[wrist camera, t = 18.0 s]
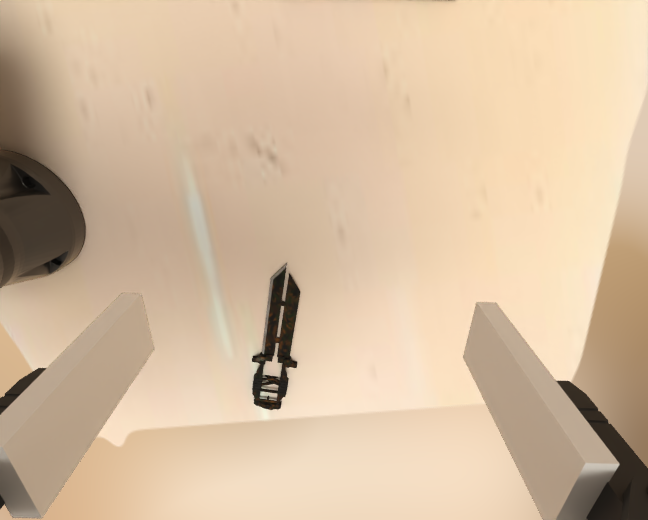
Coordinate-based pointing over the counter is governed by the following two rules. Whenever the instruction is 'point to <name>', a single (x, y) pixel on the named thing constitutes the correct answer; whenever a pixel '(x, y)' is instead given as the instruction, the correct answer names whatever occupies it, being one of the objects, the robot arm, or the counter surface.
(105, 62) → the counter surface
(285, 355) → the knife
